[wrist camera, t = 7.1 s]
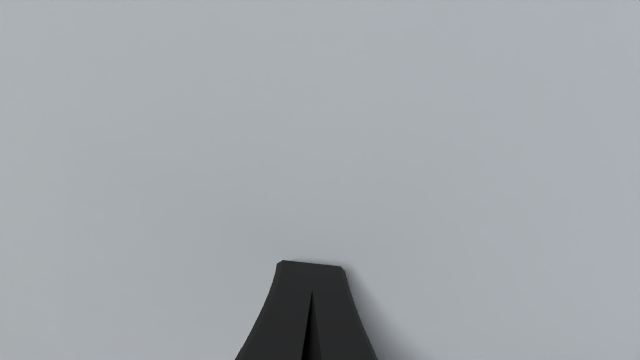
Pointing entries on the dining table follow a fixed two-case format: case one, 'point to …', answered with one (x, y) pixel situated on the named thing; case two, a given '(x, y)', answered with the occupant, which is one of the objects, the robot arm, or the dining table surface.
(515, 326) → the dining table surface
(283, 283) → the robot arm
